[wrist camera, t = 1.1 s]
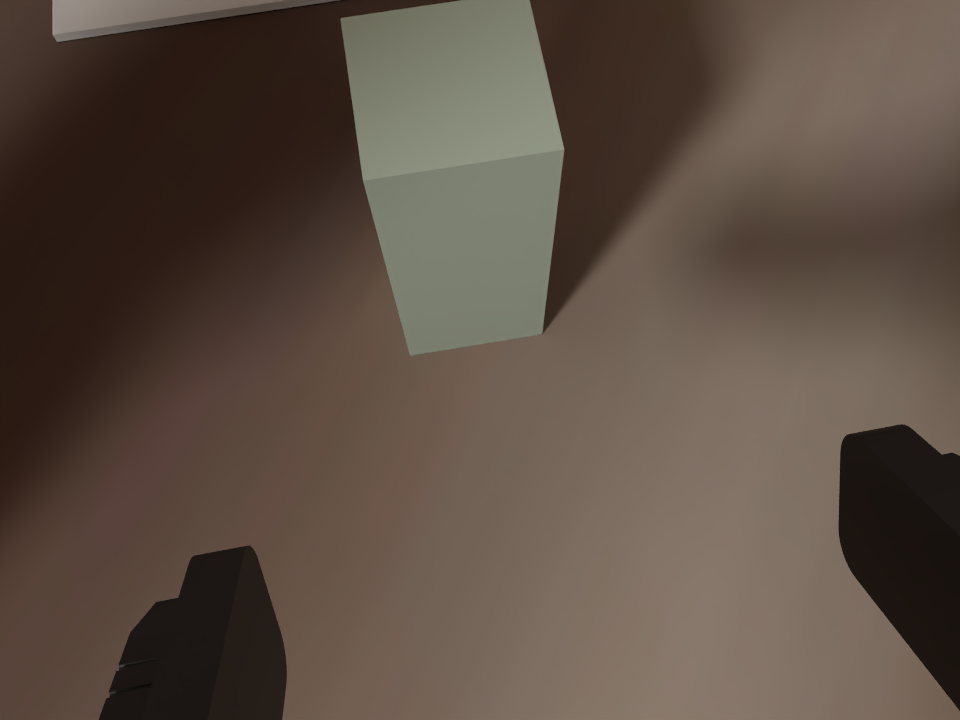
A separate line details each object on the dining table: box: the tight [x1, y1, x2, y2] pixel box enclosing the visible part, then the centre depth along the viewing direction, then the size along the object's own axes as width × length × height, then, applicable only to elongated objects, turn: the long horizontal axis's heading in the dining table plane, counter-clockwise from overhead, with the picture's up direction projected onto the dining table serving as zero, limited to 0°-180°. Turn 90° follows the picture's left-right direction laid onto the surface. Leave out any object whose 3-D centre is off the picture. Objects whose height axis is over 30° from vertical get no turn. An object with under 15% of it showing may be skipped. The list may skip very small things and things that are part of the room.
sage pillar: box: [340, 0, 564, 356], centre depth 26 cm, size 4×4×11 cm
